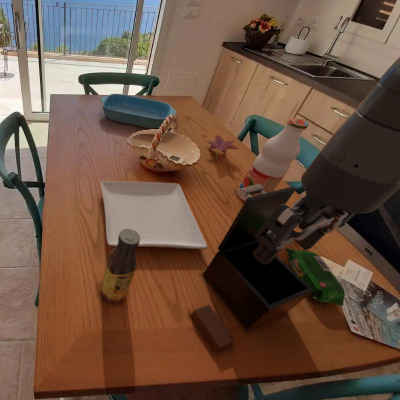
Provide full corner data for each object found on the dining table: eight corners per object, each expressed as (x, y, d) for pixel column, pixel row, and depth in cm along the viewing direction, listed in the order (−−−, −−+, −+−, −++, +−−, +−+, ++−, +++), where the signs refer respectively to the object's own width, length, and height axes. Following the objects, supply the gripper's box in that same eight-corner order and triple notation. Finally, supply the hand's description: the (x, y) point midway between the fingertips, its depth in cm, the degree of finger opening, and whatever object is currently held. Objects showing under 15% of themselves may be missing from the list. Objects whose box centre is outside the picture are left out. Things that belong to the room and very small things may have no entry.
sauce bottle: (112, 309, 61) (127, 256, 47) (95, 288, 64) (104, 234, 51) (132, 293, 64) (152, 240, 50) (115, 274, 67) (129, 220, 54)
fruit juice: (266, 209, 88) (321, 132, 70) (235, 200, 91) (281, 124, 72) (264, 193, 95) (315, 118, 76) (236, 185, 98) (278, 111, 79)
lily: (237, 164, 110) (244, 140, 108) (225, 161, 102) (232, 136, 100) (208, 159, 119) (215, 137, 116) (195, 156, 111) (202, 133, 109)
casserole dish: (173, 116, 139) (178, 102, 134) (170, 136, 123) (174, 121, 118) (105, 103, 146) (107, 90, 142) (93, 120, 130) (95, 106, 126)
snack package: (303, 255, 75) (315, 243, 71) (340, 309, 63) (356, 298, 60) (277, 253, 75) (288, 241, 72) (310, 307, 63) (324, 296, 60)
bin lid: (296, 188, 55) (274, 173, 59) (250, 200, 51) (229, 184, 55) (260, 238, 65) (243, 223, 69) (219, 251, 61) (203, 234, 65)
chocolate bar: (230, 345, 56) (235, 340, 54) (215, 351, 55) (219, 347, 53) (204, 309, 62) (208, 304, 60) (190, 315, 60) (194, 310, 59)
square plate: (106, 253, 72) (107, 244, 69) (99, 188, 92) (100, 179, 90) (204, 255, 73) (209, 246, 70) (176, 190, 93) (179, 182, 91)
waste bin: (287, 312, 62) (314, 290, 56) (246, 330, 59) (269, 309, 52) (240, 261, 72) (258, 238, 66) (202, 274, 69) (217, 251, 62)
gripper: (359, 194, 24) (266, 288, 35) (446, 169, 28) (338, 259, 39) (287, 151, 29) (225, 244, 40) (369, 135, 33) (292, 223, 44)
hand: (281, 251), depth 40 cm, fingers open, 8 cm apart
